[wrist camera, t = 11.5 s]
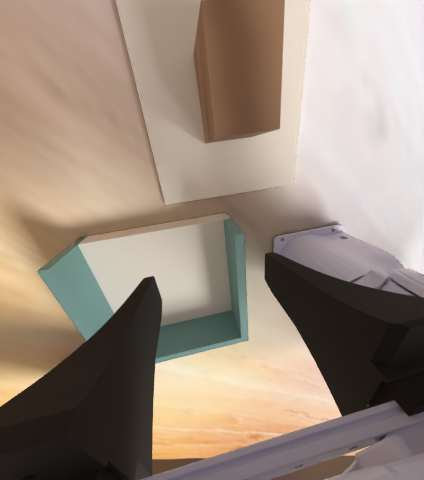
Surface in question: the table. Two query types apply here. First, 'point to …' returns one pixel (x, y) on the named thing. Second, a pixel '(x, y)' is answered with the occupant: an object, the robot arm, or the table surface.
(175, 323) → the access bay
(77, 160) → the table surface
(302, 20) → the mat
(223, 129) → the walnut block
